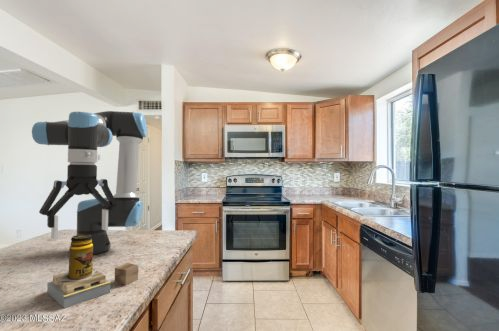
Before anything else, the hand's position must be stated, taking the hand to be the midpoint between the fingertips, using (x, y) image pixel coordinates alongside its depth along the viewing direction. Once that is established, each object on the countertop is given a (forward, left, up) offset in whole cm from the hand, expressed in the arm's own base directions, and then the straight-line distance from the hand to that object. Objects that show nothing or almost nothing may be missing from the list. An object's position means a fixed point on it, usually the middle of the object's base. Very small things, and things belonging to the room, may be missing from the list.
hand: (81, 234), depth 80 cm
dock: (0, 0, -17) cm, 17 cm away
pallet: (0, 0, -14) cm, 14 cm away
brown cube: (+3, +13, -18) cm, 22 cm away
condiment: (0, -1, -13) cm, 13 cm away
